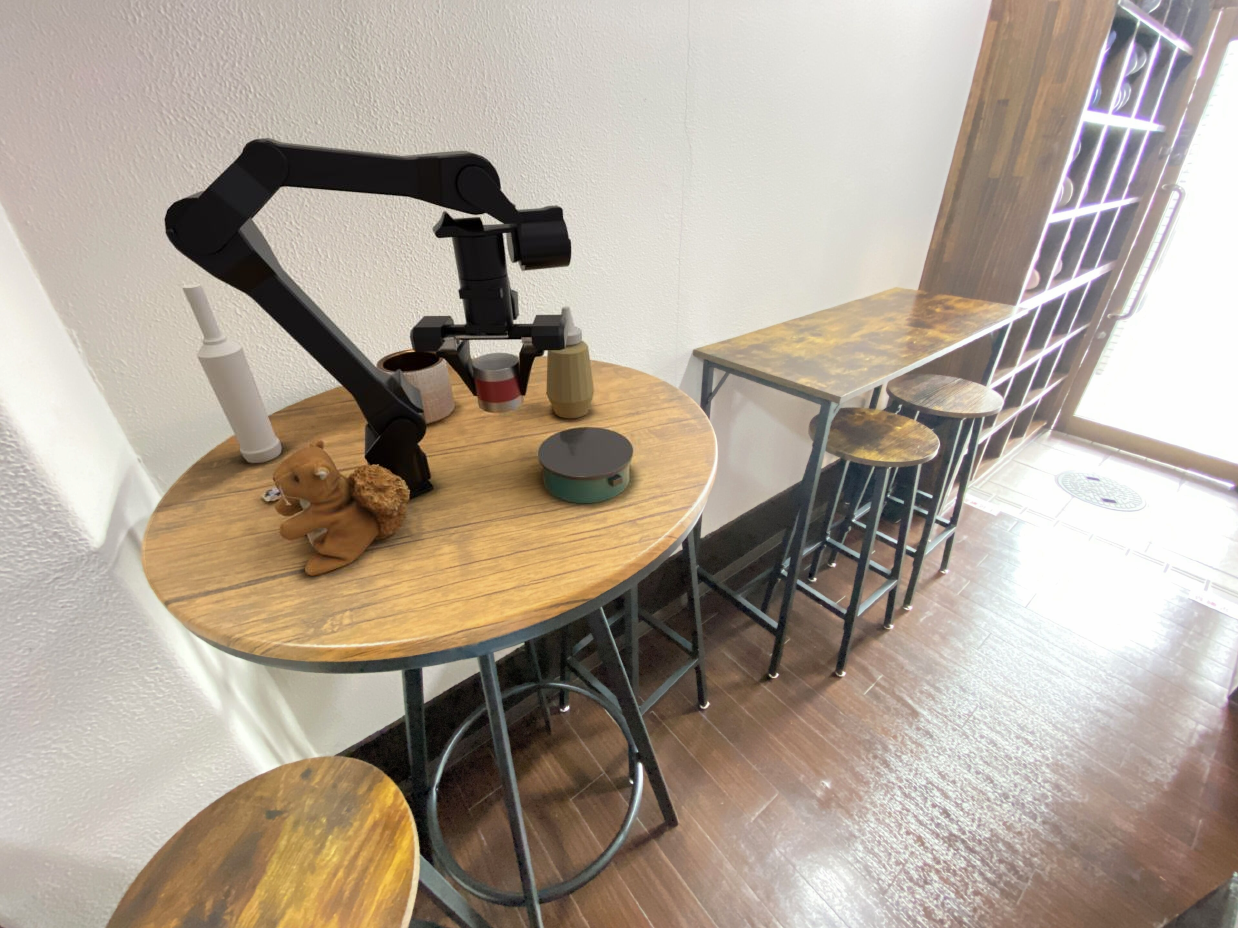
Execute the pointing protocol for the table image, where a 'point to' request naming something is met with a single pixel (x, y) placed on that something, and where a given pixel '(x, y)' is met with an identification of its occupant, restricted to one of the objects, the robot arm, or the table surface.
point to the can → (497, 382)
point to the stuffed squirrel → (337, 506)
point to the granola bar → (272, 495)
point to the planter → (424, 380)
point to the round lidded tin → (585, 464)
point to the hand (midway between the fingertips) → (500, 394)
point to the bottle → (233, 383)
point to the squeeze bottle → (570, 374)
